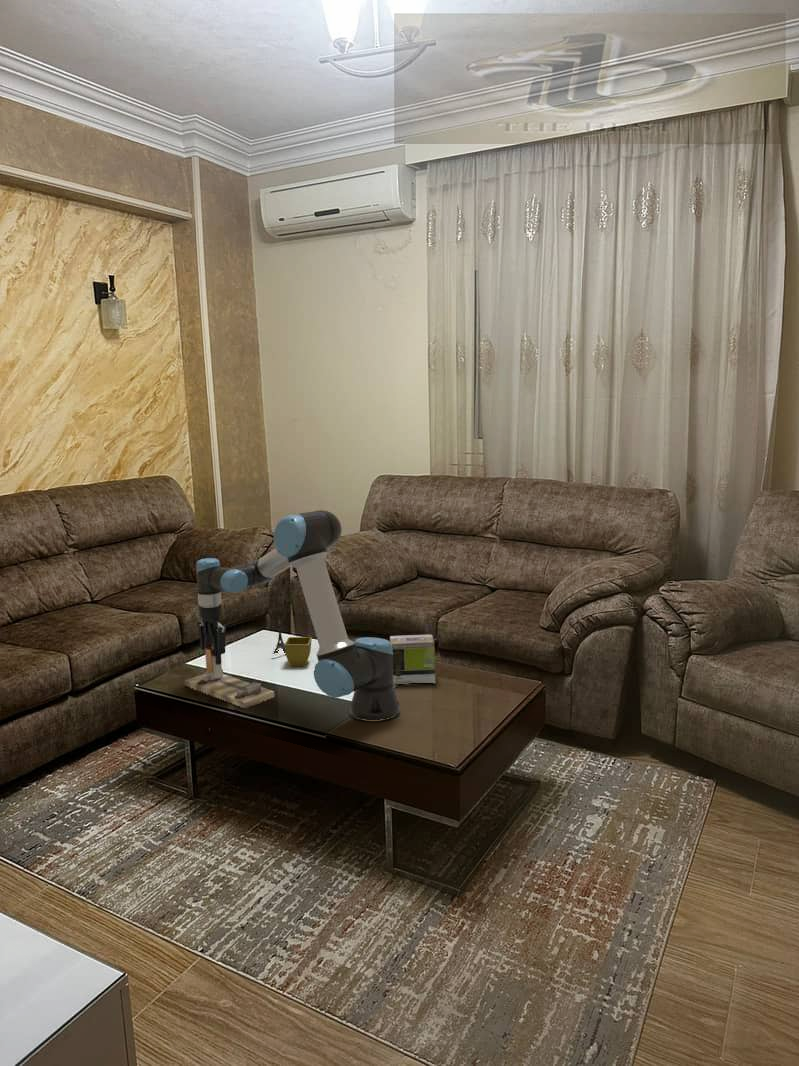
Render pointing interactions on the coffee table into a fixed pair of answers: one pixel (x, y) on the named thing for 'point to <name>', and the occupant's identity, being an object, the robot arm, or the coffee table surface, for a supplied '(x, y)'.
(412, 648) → the tea box
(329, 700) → the coffee table surface
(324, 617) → the robot arm
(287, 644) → the flower pot
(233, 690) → the gauge board
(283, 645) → the eiffel tower figurine
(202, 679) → the slide leg
